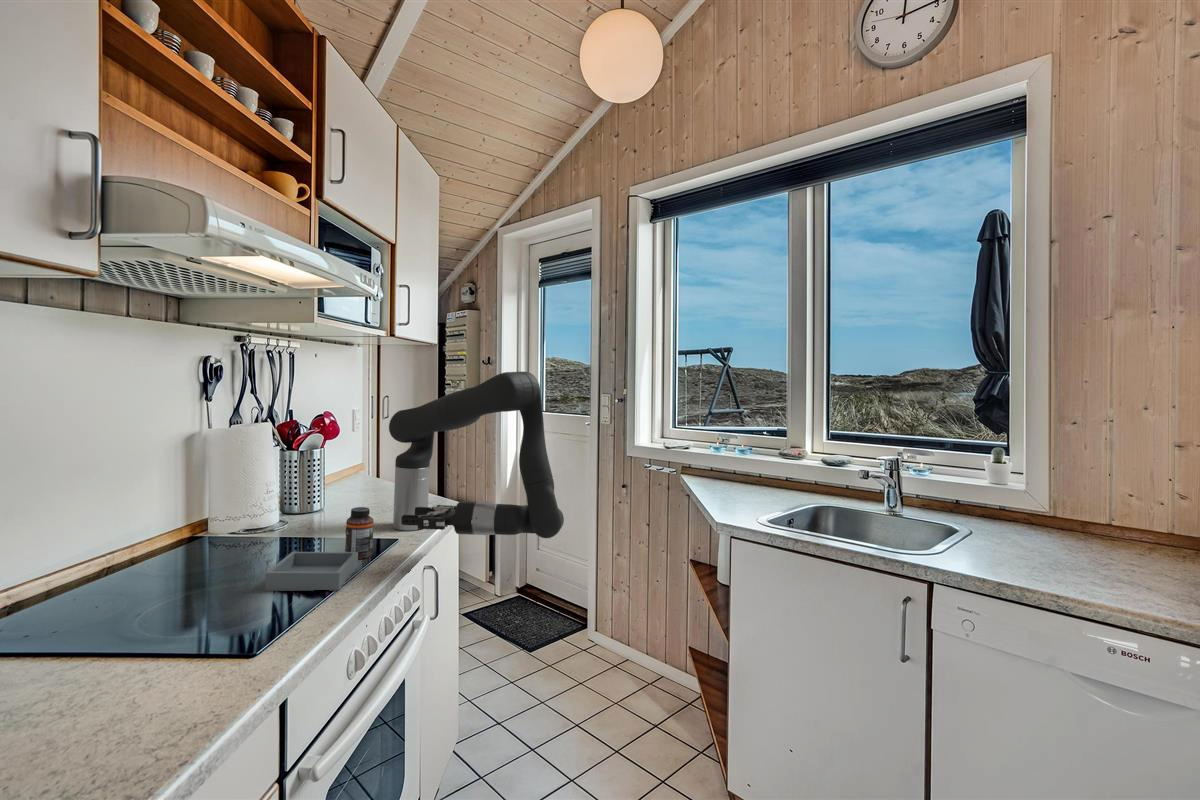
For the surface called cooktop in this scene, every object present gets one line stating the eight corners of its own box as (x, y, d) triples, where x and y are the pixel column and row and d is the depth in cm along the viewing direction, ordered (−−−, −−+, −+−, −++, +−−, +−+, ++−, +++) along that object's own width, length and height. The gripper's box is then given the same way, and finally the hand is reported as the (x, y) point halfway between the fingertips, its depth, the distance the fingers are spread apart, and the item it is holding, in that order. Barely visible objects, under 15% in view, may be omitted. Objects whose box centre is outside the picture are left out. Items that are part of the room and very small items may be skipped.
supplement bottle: (344, 553, 136) (346, 506, 136) (371, 551, 138) (373, 505, 138) (345, 561, 131) (346, 512, 130) (373, 559, 133) (374, 510, 133)
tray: (291, 567, 125) (292, 551, 124) (357, 567, 127) (357, 552, 127) (264, 590, 111) (265, 573, 111) (338, 590, 113) (339, 572, 113)
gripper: (484, 496, 141) (419, 493, 141) (470, 508, 126) (397, 505, 127) (483, 526, 141) (418, 524, 141) (469, 542, 127) (396, 539, 127)
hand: (408, 515), depth 134 cm, fingers open, 8 cm apart
